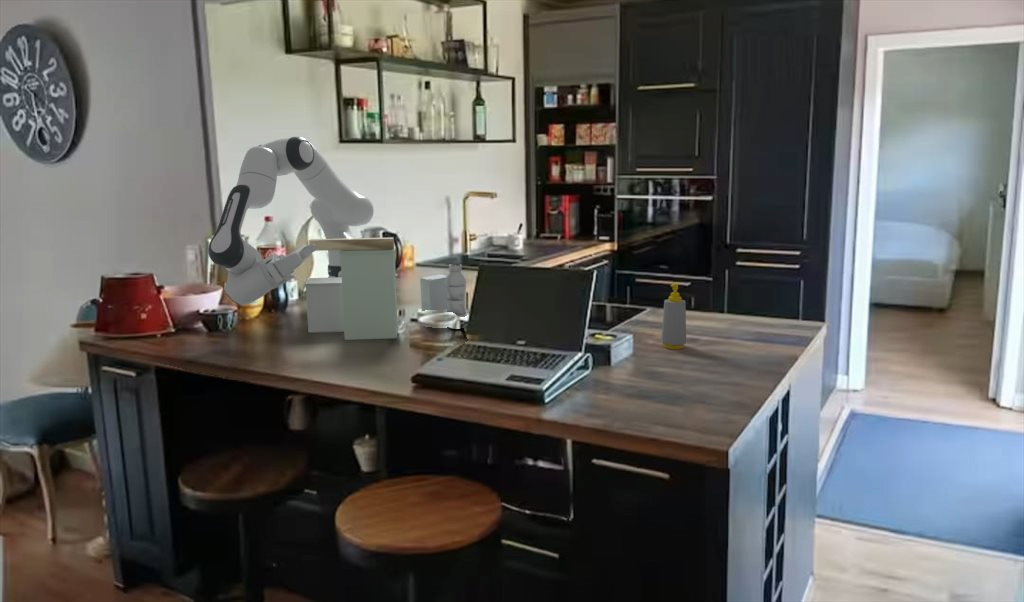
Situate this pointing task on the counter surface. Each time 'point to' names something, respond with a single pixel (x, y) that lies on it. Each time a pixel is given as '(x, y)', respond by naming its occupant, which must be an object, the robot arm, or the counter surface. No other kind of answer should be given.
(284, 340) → the counter surface
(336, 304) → the grey box
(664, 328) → the soap bottle
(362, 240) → the rail
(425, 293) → the skincare box
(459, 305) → the plastic bottle
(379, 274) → the stand
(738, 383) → the counter surface
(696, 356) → the counter surface
